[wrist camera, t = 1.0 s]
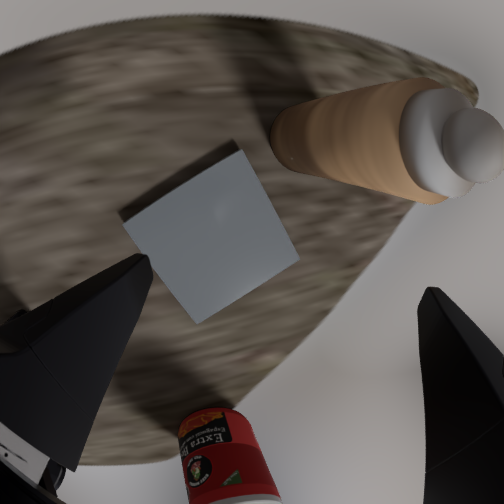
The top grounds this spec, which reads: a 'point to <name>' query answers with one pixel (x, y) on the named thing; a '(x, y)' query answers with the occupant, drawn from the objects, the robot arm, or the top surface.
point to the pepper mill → (393, 140)
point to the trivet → (213, 237)
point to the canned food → (224, 460)
